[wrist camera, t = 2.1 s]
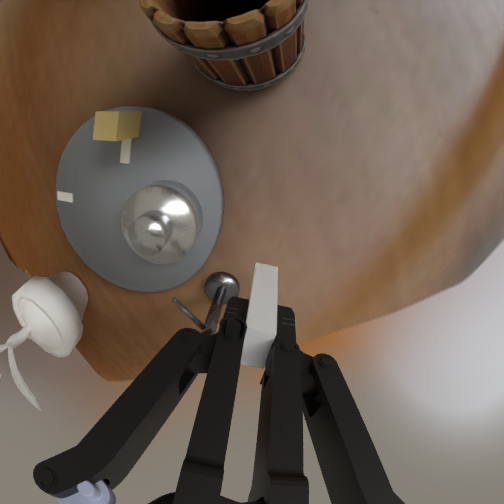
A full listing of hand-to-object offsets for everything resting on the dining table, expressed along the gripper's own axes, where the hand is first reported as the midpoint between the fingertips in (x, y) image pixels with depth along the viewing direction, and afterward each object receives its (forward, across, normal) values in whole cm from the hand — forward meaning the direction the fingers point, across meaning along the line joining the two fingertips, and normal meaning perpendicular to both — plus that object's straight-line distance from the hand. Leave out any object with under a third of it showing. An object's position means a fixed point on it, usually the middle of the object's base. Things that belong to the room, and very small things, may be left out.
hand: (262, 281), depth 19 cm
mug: (+11, -4, +20) cm, 24 cm away
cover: (+7, -10, 0) cm, 12 cm away
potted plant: (+11, -26, -16) cm, 33 cm away
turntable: (+9, -14, 0) cm, 17 cm away
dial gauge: (+11, -5, -8) cm, 14 cm away
